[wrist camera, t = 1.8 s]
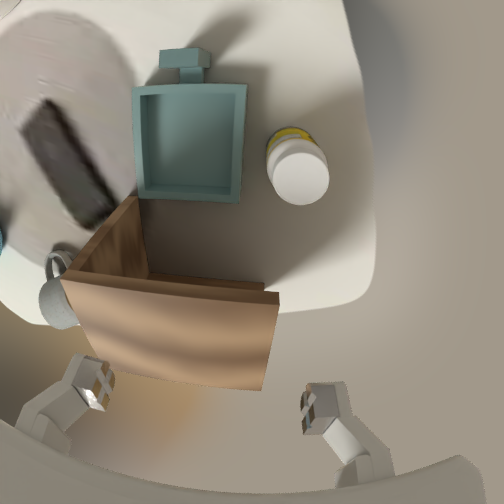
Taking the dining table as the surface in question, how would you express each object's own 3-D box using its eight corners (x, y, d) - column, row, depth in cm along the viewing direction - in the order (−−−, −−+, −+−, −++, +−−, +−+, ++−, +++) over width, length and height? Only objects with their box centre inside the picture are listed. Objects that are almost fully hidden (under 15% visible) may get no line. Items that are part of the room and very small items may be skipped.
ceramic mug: (112, 294, 38) (91, 332, 32) (82, 305, 40) (62, 339, 34) (68, 238, 33) (38, 272, 27) (42, 256, 35) (16, 288, 29)
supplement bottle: (321, 165, 26) (341, 201, 20) (275, 178, 27) (279, 219, 21) (307, 119, 24) (325, 139, 17) (259, 134, 25) (257, 159, 18)
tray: (143, 57, 20) (118, 55, 16) (250, 53, 20) (247, 48, 16) (147, 188, 28) (128, 210, 24) (240, 193, 28) (236, 216, 24)
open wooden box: (128, 195, 29) (59, 279, 17) (274, 204, 29) (279, 305, 18) (142, 278, 36) (104, 367, 24) (263, 290, 36) (261, 390, 24)
